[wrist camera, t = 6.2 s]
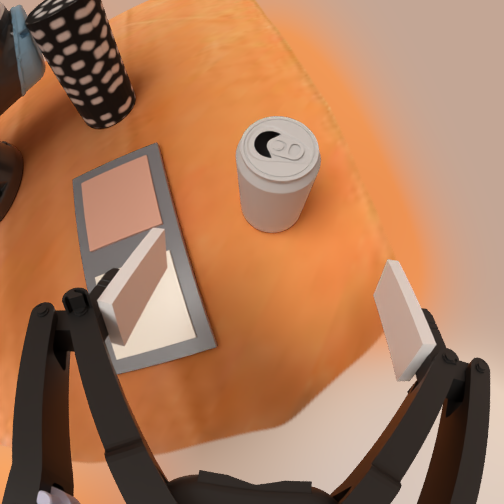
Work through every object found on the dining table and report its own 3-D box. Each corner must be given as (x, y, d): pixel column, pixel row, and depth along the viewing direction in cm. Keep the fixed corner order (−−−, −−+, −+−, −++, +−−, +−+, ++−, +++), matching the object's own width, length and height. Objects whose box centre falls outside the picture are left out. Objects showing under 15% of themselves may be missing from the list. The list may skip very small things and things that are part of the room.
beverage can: (253, 172, 33) (252, 102, 21) (308, 190, 32) (332, 127, 20) (232, 223, 31) (220, 168, 20) (290, 243, 31) (311, 198, 19)
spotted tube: (133, 79, 37) (97, -26, 17) (138, 115, 35) (93, -4, 16) (84, 99, 36) (33, 5, 16) (84, 137, 34) (17, 35, 15)
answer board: (77, 183, 33) (71, 178, 31) (159, 147, 34) (155, 140, 32) (116, 374, 28) (109, 376, 26) (217, 345, 29) (215, 347, 27)
